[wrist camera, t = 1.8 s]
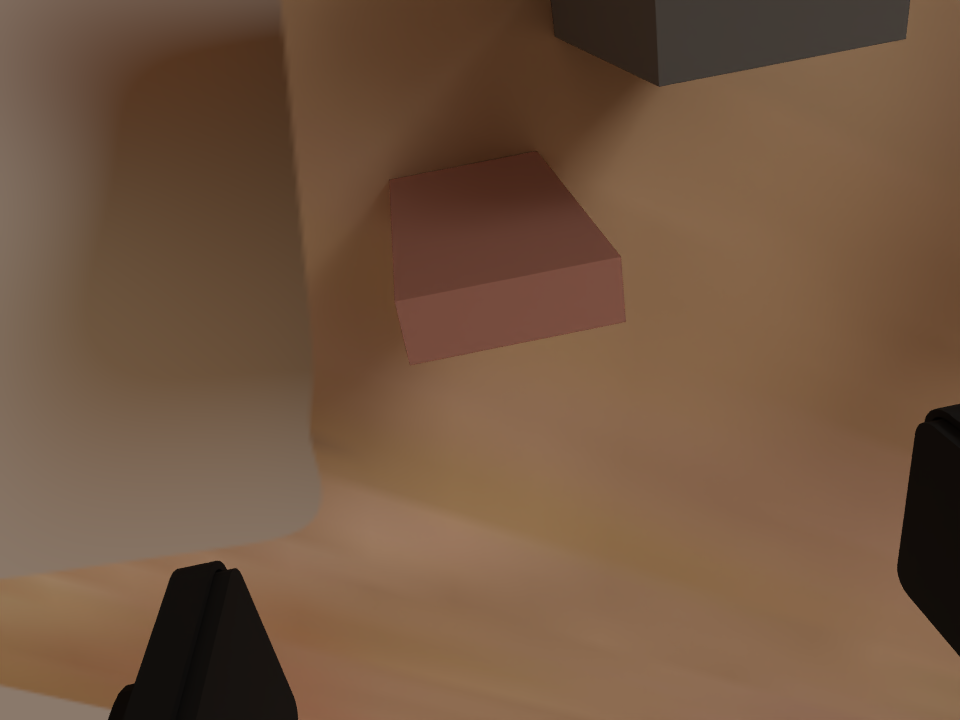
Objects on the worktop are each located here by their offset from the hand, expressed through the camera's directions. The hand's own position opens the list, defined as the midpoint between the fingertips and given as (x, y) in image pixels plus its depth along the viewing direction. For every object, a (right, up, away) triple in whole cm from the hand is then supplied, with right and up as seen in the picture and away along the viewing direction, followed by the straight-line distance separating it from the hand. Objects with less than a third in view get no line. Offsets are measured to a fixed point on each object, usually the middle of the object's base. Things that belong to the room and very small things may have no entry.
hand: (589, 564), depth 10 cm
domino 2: (+3, +14, +13) cm, 19 cm away
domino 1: (-2, +9, +15) cm, 18 cm away
